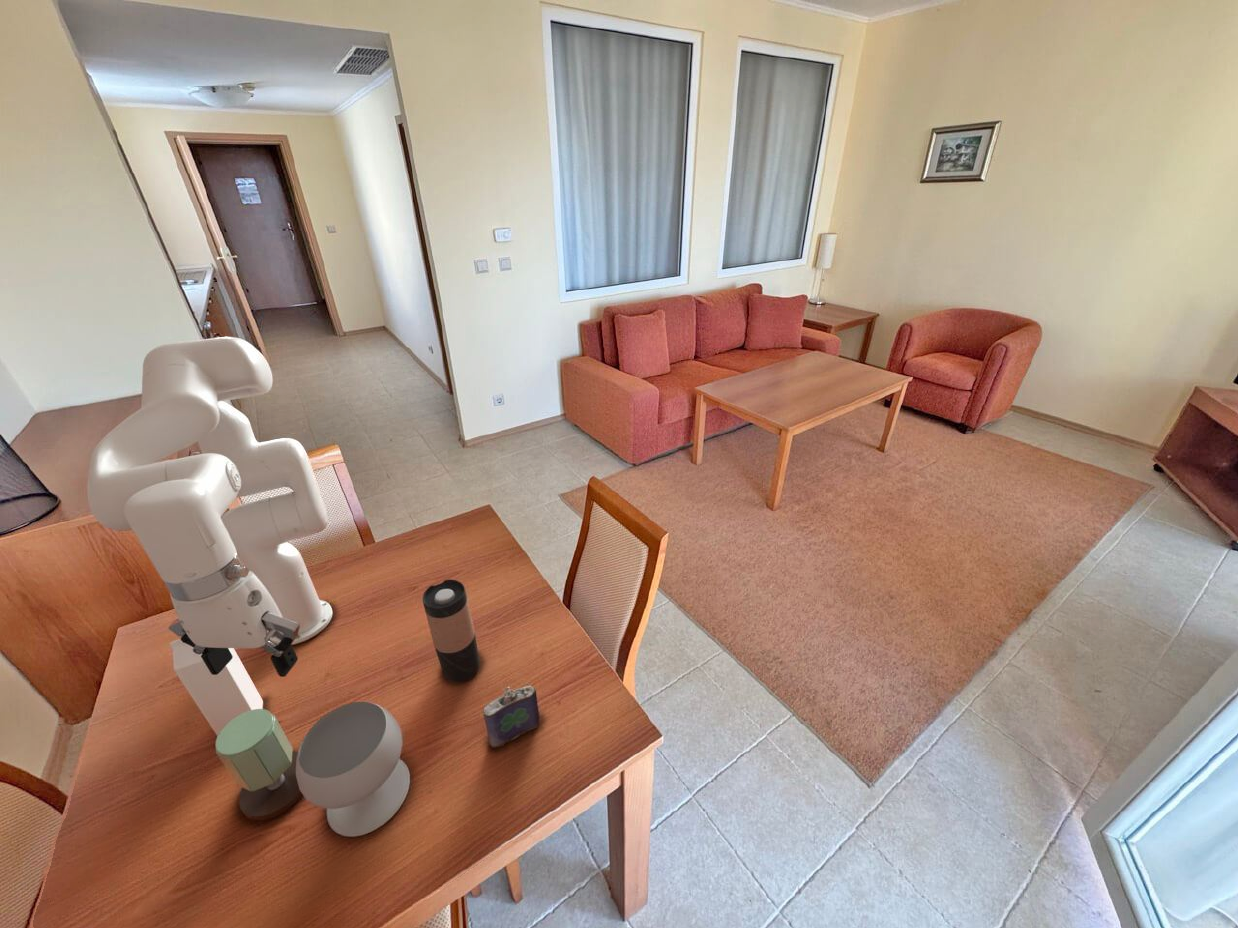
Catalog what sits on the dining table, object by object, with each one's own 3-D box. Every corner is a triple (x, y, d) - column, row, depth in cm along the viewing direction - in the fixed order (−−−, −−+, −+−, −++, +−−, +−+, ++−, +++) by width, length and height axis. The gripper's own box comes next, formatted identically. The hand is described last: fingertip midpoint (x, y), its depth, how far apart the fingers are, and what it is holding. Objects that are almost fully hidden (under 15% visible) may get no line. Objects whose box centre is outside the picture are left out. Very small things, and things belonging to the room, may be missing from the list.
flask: (492, 751, 85) (483, 711, 80) (487, 736, 87) (478, 697, 82) (542, 725, 89) (537, 685, 84) (536, 712, 91) (530, 672, 86)
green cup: (242, 755, 79) (220, 720, 75) (294, 736, 82) (275, 701, 77) (235, 798, 73) (210, 763, 69) (290, 776, 76) (269, 741, 72)
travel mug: (470, 686, 96) (452, 611, 86) (434, 680, 97) (413, 605, 88) (487, 655, 102) (472, 581, 93) (453, 649, 104) (435, 576, 94)
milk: (261, 727, 89) (212, 641, 78) (220, 743, 87) (164, 657, 76) (263, 700, 94) (217, 616, 83) (224, 715, 91) (171, 630, 80)
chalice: (413, 827, 75) (390, 769, 67) (310, 858, 71) (274, 802, 64) (418, 740, 86) (399, 684, 79) (330, 764, 83) (302, 707, 76)
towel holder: (246, 771, 82) (212, 718, 75) (314, 745, 86) (287, 692, 79) (236, 832, 74) (196, 780, 68) (311, 801, 78) (281, 747, 71)
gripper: (291, 556, 65) (330, 647, 73) (165, 553, 66) (217, 644, 74) (252, 597, 58) (299, 692, 66) (112, 594, 59) (175, 688, 67)
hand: (256, 667), depth 70 cm, fingers open, 9 cm apart
